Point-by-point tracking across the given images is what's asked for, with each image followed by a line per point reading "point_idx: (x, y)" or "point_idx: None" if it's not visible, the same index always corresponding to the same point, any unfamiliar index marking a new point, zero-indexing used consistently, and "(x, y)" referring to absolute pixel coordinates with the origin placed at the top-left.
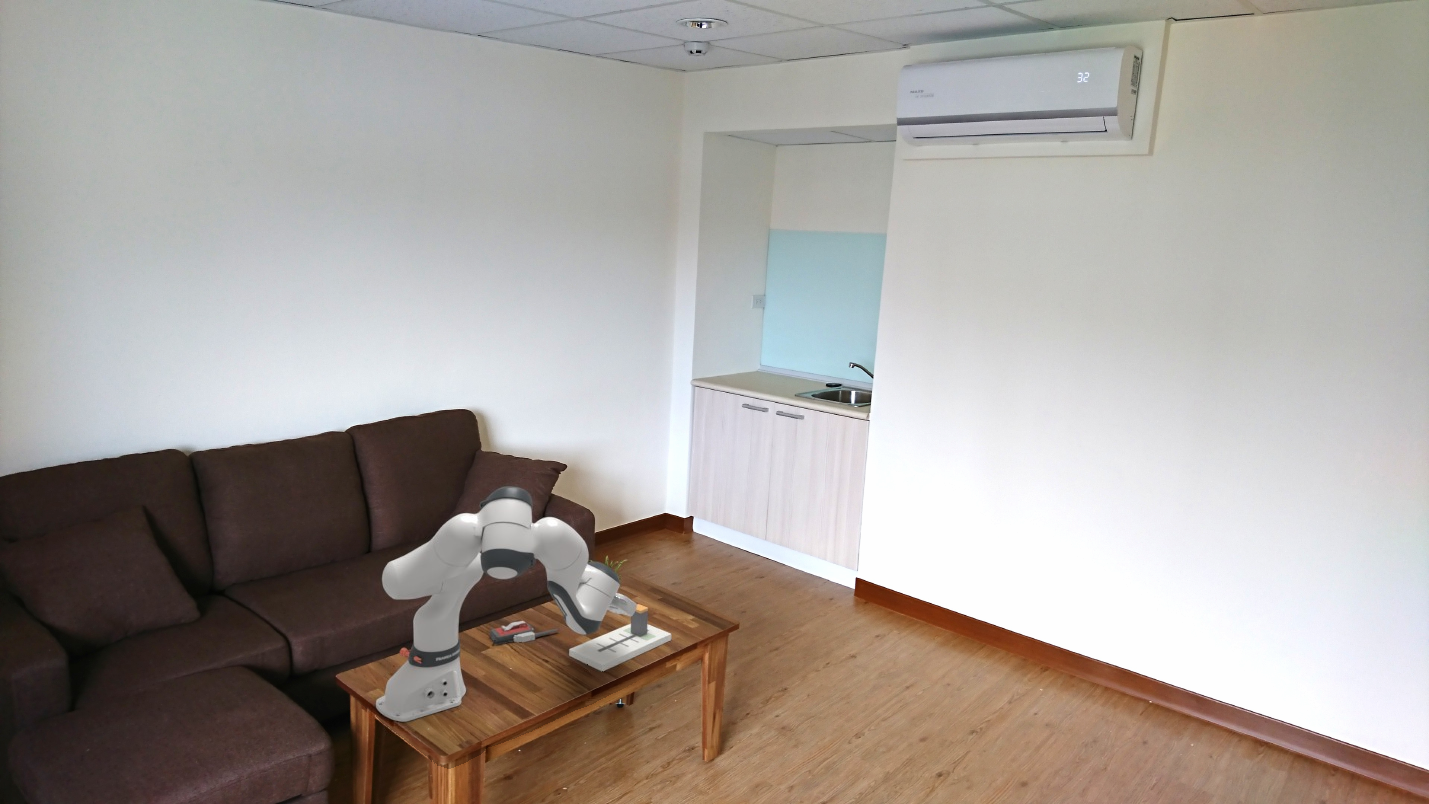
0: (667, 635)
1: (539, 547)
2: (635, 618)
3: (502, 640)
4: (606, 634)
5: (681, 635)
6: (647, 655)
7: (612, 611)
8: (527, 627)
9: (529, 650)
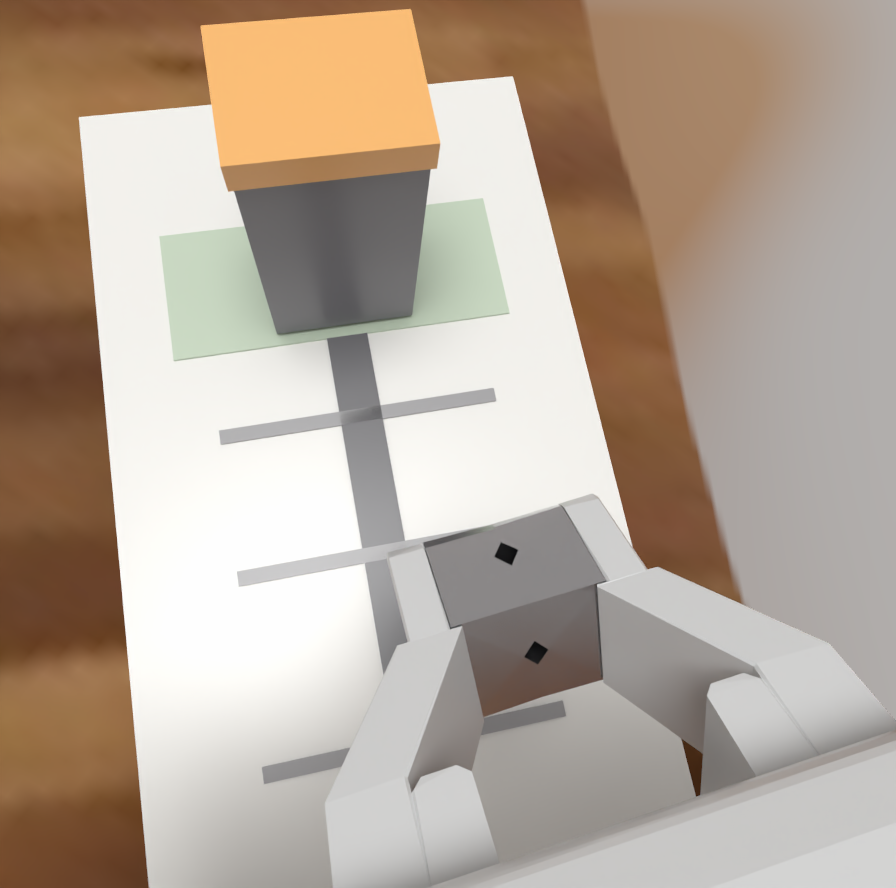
0: (521, 117)
1: None
2: (335, 235)
3: None
4: (134, 554)
5: (477, 14)
6: (638, 425)
7: (499, 703)
8: None
9: None
